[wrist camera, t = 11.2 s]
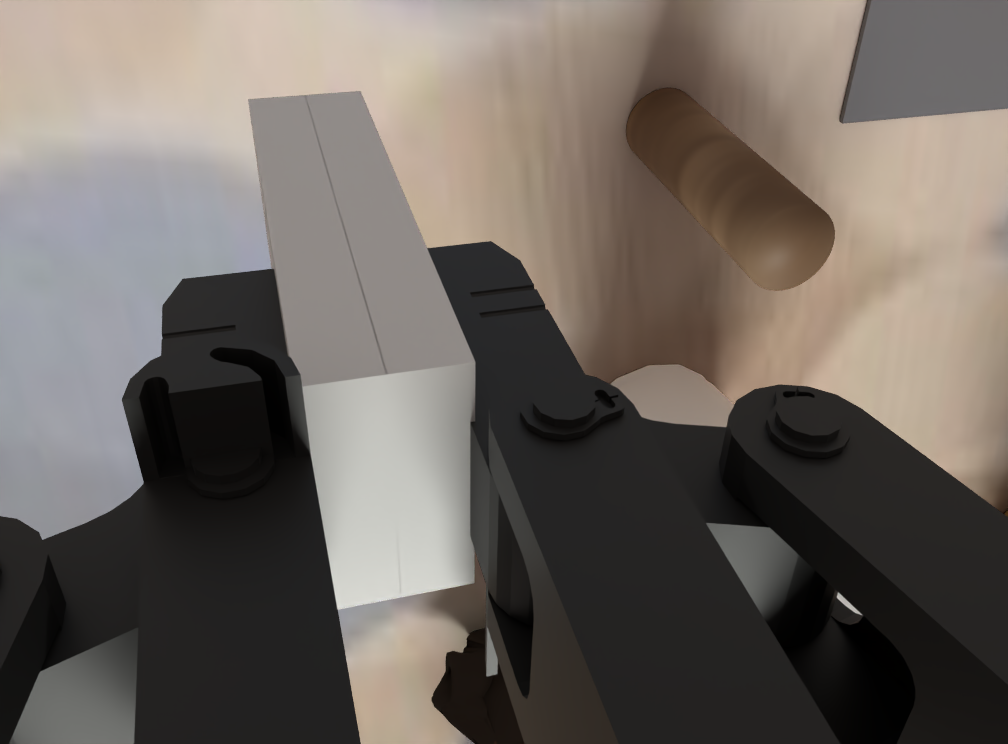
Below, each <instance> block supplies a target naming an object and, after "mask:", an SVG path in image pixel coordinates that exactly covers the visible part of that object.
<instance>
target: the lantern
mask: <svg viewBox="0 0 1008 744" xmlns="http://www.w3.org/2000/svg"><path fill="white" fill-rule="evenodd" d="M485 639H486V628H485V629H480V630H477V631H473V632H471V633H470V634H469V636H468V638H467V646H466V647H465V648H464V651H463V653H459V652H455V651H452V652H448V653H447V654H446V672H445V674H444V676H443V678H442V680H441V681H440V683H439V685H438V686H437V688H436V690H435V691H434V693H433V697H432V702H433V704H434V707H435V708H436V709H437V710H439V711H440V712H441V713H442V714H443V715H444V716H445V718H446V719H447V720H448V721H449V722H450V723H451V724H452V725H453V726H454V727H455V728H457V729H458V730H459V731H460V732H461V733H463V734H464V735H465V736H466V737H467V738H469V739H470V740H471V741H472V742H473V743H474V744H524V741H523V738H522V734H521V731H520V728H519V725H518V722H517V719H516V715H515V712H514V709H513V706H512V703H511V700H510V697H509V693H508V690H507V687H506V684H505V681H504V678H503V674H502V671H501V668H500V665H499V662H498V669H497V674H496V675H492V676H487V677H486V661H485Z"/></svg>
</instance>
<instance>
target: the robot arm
mask: <svg viewBox="0 0 1008 744" xmlns="http://www.w3.org/2000/svg"><path fill="white" fill-rule="evenodd" d="M248 102H249V109H250V116H251V123H252V130H253V138H254V145H255V152H256V159H257V167H258V174H259V181H260V188H261V196H262V203H263V210H264V217H265V224H266V232H267V239H268V246H269V253H270V261H271V268H272V269H267V270H258V271H250V272H241V273H232V274H223V275H214V276H205V277H196V278H187V279H182V281H181V282H180V283H179V285H178V286H177V287H176V289H175V290H174V291H173V292H172V294H171V295H170V296H169V298H168V299H167V300H166V302H165V303H164V304H163V308H162V337H163V339H162V351H161V356H160V357H157V358H155V359H153V360H151V361H150V362H149V363H147V364H146V365H145V366H144V367H143V368H142V369H141V370H140V371H139V372H138V373H136V374H135V375H134V376H133V377H132V378H131V379H130V381H129V383H128V386H127V388H126V391H125V393H124V396H123V398H122V402H123V406H124V410H125V413H126V417H127V421H128V425H129V428H130V432H131V436H132V440H133V443H134V447H135V451H136V455H137V458H138V462H139V466H140V470H141V473H142V477H143V481H144V484H143V485H142V486H141V487H140V488H139V489H138V490H137V491H136V492H135V493H134V494H133V495H132V496H131V497H130V498H129V499H127V500H126V501H125V502H123V503H122V504H120V505H119V506H117V507H116V508H114V509H113V510H112V511H110V512H108V513H106V514H104V515H102V516H100V517H97V518H95V519H93V520H91V521H89V522H87V523H85V524H82V525H80V526H77V527H75V528H72V529H69V530H67V531H64V532H62V533H59V534H57V535H54V536H52V537H49V538H46V539H44V540H42V539H41V536H40V534H39V532H38V531H36V530H34V529H33V528H31V527H29V526H28V525H26V524H25V523H23V522H21V521H20V520H18V519H15V518H8V517H1V516H0V744H361V743H360V737H359V731H358V726H357V720H356V714H355V708H354V702H353V697H352V691H351V685H350V679H349V673H348V667H347V662H346V656H345V650H344V644H343V638H342V633H341V627H340V621H339V615H338V609H343V608H348V607H354V606H359V605H364V604H369V603H374V602H380V601H385V600H390V599H395V598H400V597H406V596H411V595H416V594H421V593H426V592H432V591H437V590H442V589H447V588H452V587H458V586H463V585H468V584H473V583H474V578H475V552H476V555H477V558H478V561H479V564H480V567H481V570H482V573H483V576H484V579H485V582H486V639H485V661H486V677H487V676H492V675H496V674H497V669H498V662H499V665H500V668H501V671H502V674H503V678H504V681H505V684H506V687H507V690H508V693H509V697H510V700H511V703H512V706H513V709H514V712H515V715H516V719H517V722H518V725H519V728H520V731H521V734H522V738H523V741H524V744H1008V517H1007V516H1005V515H1004V514H1003V513H1001V512H1000V511H999V510H997V509H996V508H995V507H993V506H992V505H991V504H989V503H988V502H987V501H985V500H984V499H982V498H981V497H980V496H978V495H977V494H976V493H974V492H973V491H972V490H970V489H969V488H968V487H966V486H965V485H964V484H962V483H961V482H960V481H958V480H957V479H956V478H954V477H953V476H951V475H950V474H949V473H947V472H946V471H945V470H943V469H942V468H941V467H939V466H938V465H937V464H935V463H934V462H933V461H931V460H930V459H929V458H927V457H926V456H925V455H923V454H922V453H920V452H919V451H918V450H916V449H915V448H914V447H912V446H911V445H910V444H908V443H907V442H906V441H904V440H903V439H902V438H900V437H899V436H898V435H896V434H895V433H894V432H892V431H891V430H889V429H888V428H887V427H885V426H884V425H883V424H881V423H880V422H879V421H877V420H876V419H875V418H873V417H872V416H871V415H869V414H868V413H867V412H865V411H864V410H863V409H861V408H859V407H858V406H856V405H854V404H852V403H850V402H849V401H847V400H845V399H843V398H841V397H840V396H838V395H836V394H832V393H829V392H825V391H822V390H818V389H815V388H811V387H807V386H792V385H775V386H770V387H765V388H759V389H755V390H753V391H751V392H750V393H748V394H746V395H745V396H743V397H741V398H740V399H738V400H737V401H736V403H735V405H734V407H733V409H732V410H731V412H730V414H729V416H728V421H727V426H726V427H717V426H702V425H688V424H674V423H667V422H660V421H653V420H650V419H646V418H643V417H641V415H640V414H639V412H638V411H637V409H636V407H635V406H634V404H633V403H632V402H631V401H630V400H629V399H628V398H627V397H626V396H625V395H624V394H623V393H622V392H621V391H620V390H619V389H618V388H616V387H614V386H612V385H610V384H608V383H606V382H604V381H602V380H600V379H598V378H597V377H593V376H588V375H585V374H584V372H583V370H582V368H581V367H580V365H579V363H578V361H577V360H576V358H575V356H574V354H573V353H572V351H571V349H570V347H569V346H568V344H567V342H566V340H565V339H564V337H563V335H562V333H561V332H560V330H559V328H558V326H557V325H556V323H555V321H554V319H553V318H552V316H551V314H550V312H549V311H548V309H547V310H546V309H545V303H544V302H543V300H542V298H541V296H540V295H539V293H538V291H537V289H535V290H534V284H533V282H532V281H531V279H530V277H529V275H528V274H527V272H526V270H525V268H524V267H523V265H522V263H521V261H520V260H518V259H517V258H515V257H514V256H512V255H511V254H509V253H508V252H506V251H505V250H503V249H502V248H500V247H499V246H497V245H496V244H494V243H493V242H491V241H489V242H480V243H471V244H462V245H453V246H445V247H436V248H427V247H426V245H425V242H424V240H423V237H422V235H421V233H420V230H419V228H418V226H417V223H416V221H415V219H414V216H413V214H412V212H411V209H410V207H409V204H408V202H407V200H406V197H405V195H404V193H403V190H402V188H401V186H400V183H399V181H398V179H397V176H396V174H395V172H394V169H393V167H392V164H391V162H390V160H389V157H388V155H387V153H386V150H385V148H384V146H383V143H382V141H381V139H380V136H379V134H378V131H377V129H376V127H375V124H374V122H373V120H372V117H371V115H370V113H369V110H368V108H367V106H366V103H365V101H364V98H363V96H362V94H361V91H355V92H342V93H328V94H314V95H301V96H287V97H273V98H260V99H248ZM838 592H839V593H840V594H841V595H842V596H843V597H844V598H845V599H846V600H847V601H848V602H849V603H850V604H851V605H852V606H853V607H854V608H856V609H857V610H858V611H859V612H860V613H861V614H862V615H860V614H857V613H855V612H853V611H852V610H851V609H849V608H848V607H846V606H845V605H844V604H843V603H842V602H841V601H840V600H839V599H838V598H837V595H838Z"/></svg>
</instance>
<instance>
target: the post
mask: <svg viewBox="0 0 1008 744" xmlns="http://www.w3.org/2000/svg"><path fill="white" fill-rule="evenodd" d="M626 137H627V141H628V144H629V146H630V148H631V150H632V151H633V152H634V153H635V154H636V155H637V156H638V157H639V159H640V160H641V161H642V162H643V163H644V164H645V165H646V166H647V167H648V168H649V169H650V170H651V172H652V173H653V174H654V175H655V176H656V177H657V178H658V179H659V180H660V181H661V182H662V183H663V184H664V186H665V187H666V188H667V189H668V190H669V191H670V192H671V193H672V194H673V195H674V196H675V197H676V198H677V200H678V201H679V202H680V203H681V204H682V205H683V206H684V207H685V208H686V209H687V210H688V211H689V212H690V214H691V215H692V216H693V217H694V218H695V219H696V220H697V221H698V222H699V223H700V224H701V225H702V227H703V228H704V229H705V230H706V231H707V232H708V233H709V234H710V235H711V236H712V237H713V238H714V239H715V241H716V242H717V243H718V244H719V245H720V246H721V247H722V248H723V249H724V250H725V251H726V252H727V253H728V255H729V256H730V257H731V258H732V259H733V260H734V261H735V262H736V263H737V264H738V265H739V266H740V267H741V269H742V270H743V271H744V272H745V273H746V274H747V275H748V276H749V277H750V278H751V279H752V280H753V282H754V283H756V284H757V285H758V286H760V287H761V288H764V289H767V290H773V291H779V290H786V289H790V288H793V287H795V286H798V285H800V284H802V283H803V282H805V281H806V280H808V279H809V278H811V277H812V276H813V275H814V274H815V273H816V272H817V271H818V270H819V269H820V268H821V267H822V266H823V264H824V263H825V262H826V260H827V258H828V257H829V255H830V252H831V250H832V247H833V244H834V239H835V230H834V225H833V222H832V220H831V218H830V217H829V215H828V214H827V213H826V212H825V211H824V210H822V209H821V208H820V207H819V206H818V205H817V204H815V203H814V202H813V201H812V200H811V199H810V198H808V197H807V196H806V195H805V194H804V193H803V192H801V191H800V190H799V189H798V188H797V187H795V186H794V185H793V184H792V183H791V182H790V181H788V180H787V179H786V178H785V177H784V176H783V175H781V174H780V173H779V172H778V171H777V170H776V169H774V168H773V167H772V166H771V165H770V164H768V163H767V162H766V161H765V160H764V159H763V158H761V157H760V156H759V155H758V154H757V153H756V152H754V151H753V150H752V149H751V148H750V147H748V146H747V145H746V144H745V143H744V142H743V141H741V140H740V139H739V138H738V137H737V136H736V135H734V134H733V133H732V132H731V131H730V130H729V129H727V128H726V127H725V126H724V125H723V124H721V123H720V122H719V121H718V120H717V119H716V118H714V117H713V116H712V115H711V114H710V113H709V112H707V111H706V110H705V109H704V108H703V107H702V106H700V105H699V104H698V103H697V102H696V101H694V100H693V99H692V98H691V97H690V96H689V95H687V94H686V93H685V92H683V91H681V90H678V89H675V88H663V89H659V90H656V91H653V92H651V93H649V94H648V95H646V96H645V97H644V98H642V99H641V100H640V101H639V102H638V103H637V105H636V106H635V107H634V109H633V110H632V112H631V114H630V116H629V119H628V122H627V127H626Z"/></svg>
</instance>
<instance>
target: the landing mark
mask: <svg viewBox="0 0 1008 744" xmlns="http://www.w3.org/2000/svg"><path fill="white" fill-rule="evenodd" d="M1007 108H1008V0H868V2H867V6H866V11H865V15H864V19H863V23H862V28H861V32H860V36H859V40H858V45H857V49H856V53H855V57H854V62H853V66H852V70H851V75H850V79H849V83H848V87H847V92H846V96H845V100H844V104H843V109H842V113H841V117H840V122H841V123H853V122H864V121H875V120H886V119H897V118H908V117H919V116H930V115H941V114H952V113H963V112H974V111H985V110H996V109H1007Z"/></svg>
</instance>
